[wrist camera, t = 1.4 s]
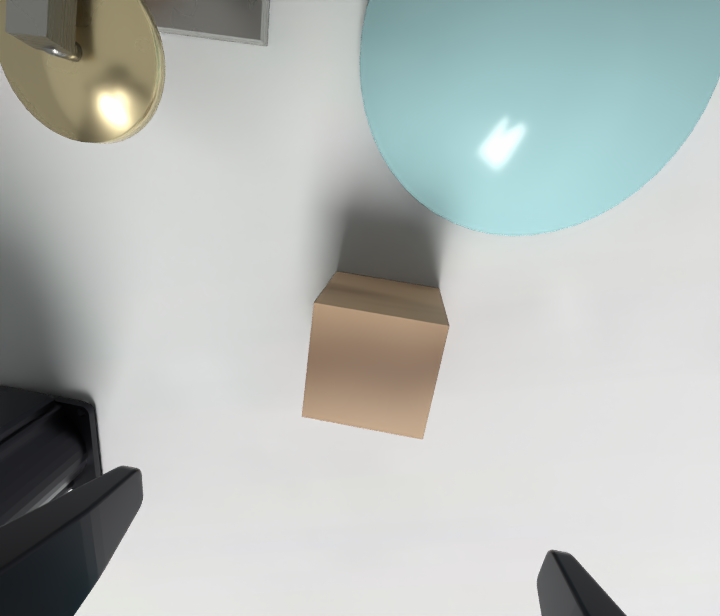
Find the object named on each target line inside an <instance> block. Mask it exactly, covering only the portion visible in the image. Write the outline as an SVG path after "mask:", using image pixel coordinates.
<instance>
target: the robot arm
mask: <svg viewBox="0 0 720 616" xmlns="http://www.w3.org/2000/svg"><path fill="white" fill-rule="evenodd" d="M70 489H74V490H72V491H70V492H68V491H69V490H70ZM67 492H68V493H67ZM142 500H143V487H142V474H141V471H140V469H138V468H134V467H129V466H120V467H117V468H115V469H113V470H111V471H109V472H107V473H105V474H103V475H101V472H100V462H99V452H98V443H97V433H96V423H95V414H94V409H93V407H92V406H91V405H90V404H89V403H87V402H82V401H77V400H72V399H67V398H62V397H57V396H51V395H46V394H41V393H36V392H31V391H26V390H21V389H15V388H10V387H5V386H0V616H74V615H75V613H76V612H77V610H78V609H79V607H80V606H81V604H82V603H83V602H84V600H85V599H86V597H87V596H88V594H89V593H90V591H91V590H92V588H93V587H94V585H95V584H96V582H97V581H98V579H99V578H100V576H101V575H102V573H103V571H104V570H105V568H106V566H107V564H108V563H109V561H110V559H111V557H112V556H113V554H114V552H115V550H116V549H117V547H118V545H119V543H120V542H121V540H122V538H123V536H124V535H125V533H126V531H127V529H128V528H129V526H130V524H131V523H132V521H133V519H134V517H135V516H136V514H137V512H138V510H139V508H140V506H141V504H142ZM537 590H538V596H539V602H540V608H541V615H542V616H626V615H625V613H624V612H623V611H622V610H621V609H620V608H619V607H618V606H617V604H616V603H615V602H614V601H613V600H612V599H611V598H610V597H609V596H608V594H607V593H606V592H605V591H604V590H603V589H602V588H601V587H600V586H599V584H598V583H597V582H596V581H595V580H594V579H593V578H592V577H591V575H590V574H589V573H588V572H587V571H586V570H585V569H584V568H583V567H582V565H581V564H580V563H579V562H578V561H577V560H576V559H575V558H574V557H573V556H572V555H571V554H569V553H567V552H562V551H557V550H550V551H548V552H547V554H546V557H545V559H544V562H543V564H542V567H541V569H540V572H539V574H538V578H537Z"/></svg>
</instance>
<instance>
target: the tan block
mask: <svg viewBox="0 0 720 616" xmlns="http://www.w3.org/2000/svg"><path fill="white" fill-rule="evenodd" d="M448 330H449V323H448V319H447V315H446V312H445V308H444V304H443V301H442V297H441V293H440V289H439V288H435V287H429V286H422V285H416V284H410V283H404V282H398V281H392V280H386V279H380V278H374V277H368V276H362V275H356V274H350V273H344V272H338V271H336V273H335V274H334V275H333V277H332V278H331V280H330V281H329V282H328V284H327V285H326V287H325V288H324V289H323V291H322V292H321V294H320V295H319V296H318V298H317V299H316V301H315V302H314V307H313V317H312V326H311V335H310V345H309V354H308V363H307V373H306V382H305V391H304V401H303V410H302V417H307V418H312V419H317V420H323V421H328V422H333V423H338V424H344V425H349V426H354V427H360V428H365V429H370V430H375V431H381V432H386V433H391V434H396V435H402V436H407V437H412V438H417V439H423V436H424V432H425V428H426V423H427V419H428V415H429V411H430V406H431V402H432V398H433V394H434V389H435V385H436V381H437V377H438V372H439V368H440V364H441V359H442V355H443V351H444V347H445V342H446V338H447V334H448Z"/></svg>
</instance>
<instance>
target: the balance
mask: <svg viewBox="0 0 720 616" xmlns="http://www.w3.org/2000/svg"><path fill="white" fill-rule="evenodd" d="M269 1H270V0H0V62H1V66H2V68H3V71H4V73H5V75H6V78H7V80H8V82H9V84H10V85H11V87H12V89H13V91H14V92H15V94H16V95H17V97H18V98H19V100H20V101H21V102H22V104H23V105H24V106H25V107H26V109H27V110H28V111H29V112H30V113H31V114H32V115H33V116H34V117H35V118H36V119H37V120H39V121H40V122H41V123H42V124H43V125H45V126H46V127H48V128H49V129H51V130H52V131H54V132H56V133H58V134H60V135H62V136H64V137H67V138H69V139H72V140H76V141H81V142H91V143H103V144H106V143H115V142H119V141H123V140H125V139H128V138H130V137H132V136H133V135H135V134H137V133H138V132H139V131H140V130H141V129H143V128H144V127H145V126H146V125H147V123H148V122H149V121H150V120H151V118H152V117H153V115H154V113H155V112H156V110H157V107H158V105H159V102H160V100H161V96H162V93H163V88H164V81H165V58H164V51H163V45H162V41H161V37H160V34H159V32H164V33H172V34H179V35H187V36H194V37H202V38H210V39H217V40H225V41H232V42H240V43H247V44H255V45H262V46H267V40H268V20H269Z"/></svg>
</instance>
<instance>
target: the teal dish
mask: <svg viewBox="0 0 720 616" xmlns="http://www.w3.org/2000/svg"><path fill="white" fill-rule="evenodd" d="M360 76H361V90H362V96H363V102H364V108H365V112H366V116H367V119H368V123H369V126H370V129H371V133H372V135H373V137H374V140H375V142H376V144H377V147H378V149H379V151H380V153H381V155H382V157H383V158H384V160H385V162H386V163H387V165H388V167H389V168H390V170H391V172H392V173H393V174H394V175H395V177H396V178H397V179H398V180H399V182H400V183H401V184H402V185H403V187H404V188H405V189H406V190H407V191H408V192H409V193H410V194H411V195H412V196H414V197H415V198H416V199H417V200H418V201H419V202H420V203H422V204H423V205H424V206H426V207H427V208H428V209H430V210H431V211H432V212H434V213H435V214H437V215H439V216H441V217H443V218H445V219H447V220H448V221H450V222H452V223H455V224H457V225H460V226H463V227H466V228H468V229H471V230H475V231H480V232H484V233H489V234H497V235H508V236H520V235H535V234H542V233H548V232H554V231H557V230H561V229H564V228H568V227H571V226H575V225H577V224H580V223H582V222H584V221H587V220H589V219H592V218H594V217H596V216H598V215H600V214H602V213H604V212H605V211H607V210H609V209H611V208H613V207H614V206H616V205H618V204H619V203H621V202H622V201H624V200H625V199H626V198H628V197H629V196H631V195H632V194H634V193H635V192H636V191H638V190H639V189H640V188H641V187H642V186H644V185H645V184H646V183H647V182H648V181H649V180H650V179H651V178H653V177H654V176H655V175H656V174H657V173H658V172H659V171H660V170H661V169H662V168H663V167H664V166H665V164H666V163H667V162H668V161H669V160H670V159H671V158H672V157H673V156H674V155H675V154H676V152H677V151H678V150H679V148H680V147H681V146H682V144H683V143H684V142H685V140H686V139H687V138H688V136H689V135H690V134H691V132H692V130H693V129H694V127H695V125H696V124H697V122H698V120H699V119H700V117H701V115H702V114H703V112H704V110H705V109H706V106H707V104H708V102H709V100H710V98H711V96H712V93H713V91H714V89H715V87H716V85H717V82H718V79H719V76H720V0H369V2H368V6H367V9H366V14H365V19H364V25H363V31H362V36H361V52H360Z"/></svg>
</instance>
